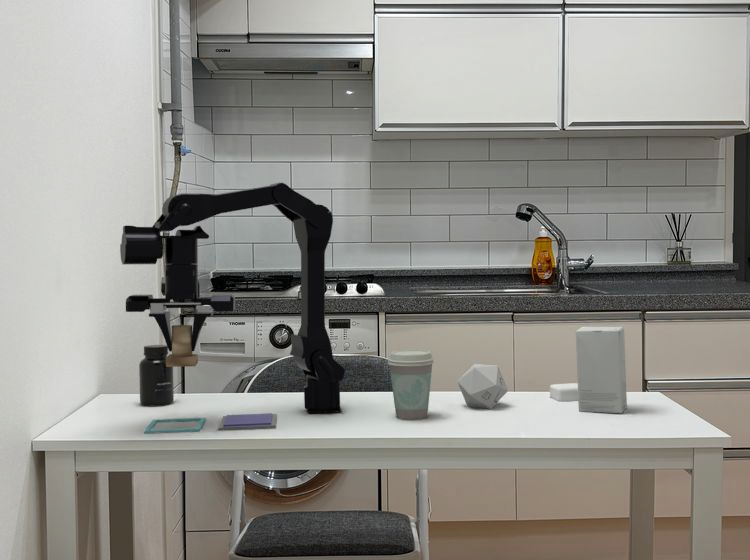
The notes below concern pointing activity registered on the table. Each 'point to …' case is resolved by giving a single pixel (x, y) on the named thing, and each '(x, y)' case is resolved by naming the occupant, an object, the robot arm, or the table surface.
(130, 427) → the table surface
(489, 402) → the die
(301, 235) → the robot arm
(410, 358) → the coffee cup
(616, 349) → the skincare box
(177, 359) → the stamp
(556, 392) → the soap
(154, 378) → the supplement bottle
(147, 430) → the teal flat square frame
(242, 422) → the ink pad
